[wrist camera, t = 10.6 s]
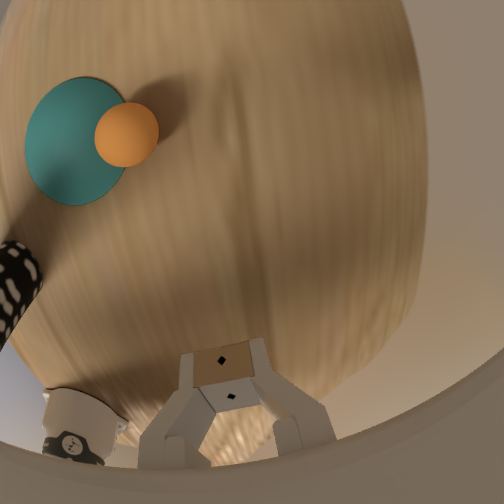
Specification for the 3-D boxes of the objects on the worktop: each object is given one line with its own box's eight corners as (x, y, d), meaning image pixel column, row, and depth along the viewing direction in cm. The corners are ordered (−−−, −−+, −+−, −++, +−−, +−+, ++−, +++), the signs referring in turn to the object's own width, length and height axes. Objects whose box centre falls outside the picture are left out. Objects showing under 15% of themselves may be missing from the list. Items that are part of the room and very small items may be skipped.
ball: (95, 129, 21) (138, 160, 24) (73, 155, 17) (125, 191, 20) (130, 84, 18) (175, 119, 22) (112, 99, 15) (168, 143, 18)
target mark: (107, 222, 25) (107, 223, 25) (16, 183, 21) (15, 183, 21) (154, 98, 21) (153, 98, 20) (49, 68, 16) (48, 67, 16)
